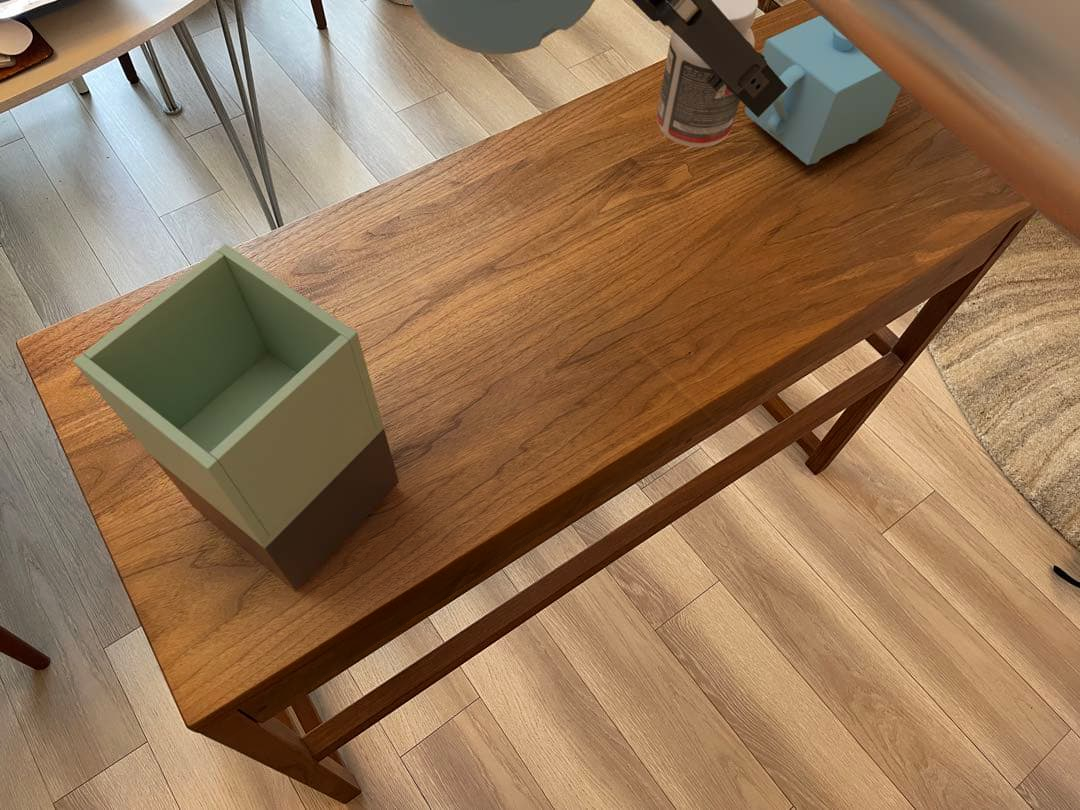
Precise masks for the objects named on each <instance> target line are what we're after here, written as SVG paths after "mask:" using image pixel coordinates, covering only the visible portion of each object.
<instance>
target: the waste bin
mask: <svg viewBox="0 0 1080 810" xmlns="http://www.w3.org/2000/svg"><path fill="white" fill-rule="evenodd" d="M72 363H73V364H74V365H75V366H76V367H77V368H78V370H79V371H80V372H81V373H82V375H83V376H84V377H85V378H86V379H87V381H88V383H90V384H91V386H92V387H93V388H94V389H95V390H96V392H97V393H98V394H99V395H100V396H101V397H102V399H103V400H104V402H106V404H107V405H108V406H109V407H110V408H111V410H112V411H113V412H114V413H115V414H116V416H117V417H118V418H119V419H120V421H121V422H122V423H123V424H124V425H125V426H126V428H127V429H128V430H129V431H130V433H131V434H132V435H133V436H134V437H135V439H136V440H137V441H138V442H139V443H140V445H141V446H142V447H143V448H144V450H145V451H146V452H147V453H148V454H149V456H150V457H151V458H152V460H154V462H155V463H156V464H157V465H158V466H159V467H160V469H161V470H162V471H163V473H164V474H165V475H166V476H167V477H168V478H169V480H170V481H171V482H172V483H173V485H174V486H175V487H176V488H177V490H179V492H180V493H181V494H182V495H183V497H185V500H187V501H188V502H189V504H190V505H191V506H192V507H193V508H194V509H195V510H196V511H197V512H198V513H200V515H202V516H203V517H205V518H206V519H207V520H208V521H209V522H211V523H212V524H213V525H214V526H216V527H217V528H218V529H219V530H220V531H221V532H222V533H224V534H225V535H226V536H227V537H229V538H230V539H231V540H232V541H234V542H235V543H236V544H237V545H239V546H240V547H241V548H242V549H243V550H244V551H246V552H247V553H248V554H249V555H251V556H252V557H253V558H254V559H256V560H257V561H258V562H259V563H260V564H261V565H262V566H264V567H265V568H266V569H268V570H269V571H270V572H271V573H273V574H274V575H275V576H276V577H277V578H278V579H280V580H281V581H283V583H284V584H286V585H287V586H288V587H289V588H291V589H292V590H293V591H294V592H296V593H297V592H298V591H299V590H300V589H301V588H302V587H303V586H304V584H305V583H306V582H307V581H308V580H309V579H310V578H311V577H312V576H313V575H314V574H315V573H316V572H317V571H318V569H320V568H321V566H322V565H323V564H324V563H325V562H326V561H327V560H328V559H329V558H330V557H331V555H333V553H334V552H335V551H336V550H337V549H338V548H339V547H340V546H341V545H342V544H343V543H344V542H345V541H346V540H347V538H348V537H349V536H350V535H351V534H352V533H353V532H354V531H355V530H356V529H357V528H358V527H359V526H360V525H361V524H362V523H363V522H364V521H365V519H366V518H367V517H369V515H370V514H371V513H372V512H373V511H374V510H375V509H376V508H377V507H378V505H380V503H382V502H383V500H384V499H385V498H386V497H387V496H388V495H389V494H390V493H391V492H392V491H393V490H394V489H395V488H396V487H397V486H398V484H400V481H399V477H398V474H397V470H396V467H395V463H394V459H393V456H392V452H391V448H390V446H389V441H388V437H387V434H386V429H385V427H384V423H383V419H382V417H381V416H382V415H381V413H380V408H379V406H378V405H379V404H378V402H377V398H376V395H375V390H374V388H373V384H372V380H371V376H370V373H369V371H368V369H369V368H368V366H367V362H366V359H365V355H364V351H363V348H362V344H361V341H360V337H359V334H358V332H357V331H356V330H355V329H353V328H351V327H350V326H348V325H347V324H345V323H344V322H343V321H341V320H339V319H338V318H336V316H333V315H332V314H330V313H329V312H328V311H326V310H325V309H323V308H322V307H320V306H318V305H317V304H316V303H314V302H313V301H311V300H310V299H308V298H307V297H305V296H303V295H302V294H301V293H299V292H297V291H296V290H295V289H294V288H293V287H290V286H289V285H287V284H286V283H284V282H283V281H281V280H280V279H279V278H277V277H276V276H274V275H273V274H271V273H270V272H268V271H267V270H265V269H263V268H262V267H260V266H259V265H257V264H256V263H255V262H254V261H251V260H250V259H249V258H247V257H246V256H244V255H242V254H241V253H240V252H238V251H236V250H235V249H233V248H232V247H231V246H229V245H228V244H223V245H222V246H221V247H219V248H218V249H217V250H215V251H213V253H211V254H210V255H209V256H207V257H206V258H205V259H203V260H202V261H201V262H200V263H198V264H197V265H195V266H194V267H193V268H192V269H191V270H189V271H188V272H186V273H185V274H184V275H183V276H181V277H180V278H179V279H177V280H176V281H175V282H173V283H172V284H170V286H168V287H167V288H166V289H164V290H163V291H162V292H160V293H159V294H158V295H156V296H155V297H154V298H152V299H151V300H150V301H149V302H148V303H146V304H145V305H144V306H143V307H141V308H139V309H138V310H137V311H136V312H134V313H133V314H132V315H130V316H129V317H128V318H126V319H125V320H124V321H123V322H121V323H119V325H117V326H116V327H115V328H114V329H112V330H111V331H109V332H108V333H107V334H106V335H104V336H103V337H102V338H100V339H99V340H98V341H96V342H95V343H93V344H92V345H91V346H90V347H89V348H87V349H86V350H84V351H83V352H82V353H80V354H79V355H78V356H77V357H75V358H74V359H73V360H72Z"/></svg>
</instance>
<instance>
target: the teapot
mask: <svg viewBox="0 0 1080 810" xmlns="http://www.w3.org/2000/svg"><path fill="white" fill-rule="evenodd" d="M761 54H762V55H763V56H764V57H765V60H766V61H767V62H766V63H767V64H768V66H769V67H770V68H771V69H772V70H773V71H774V72H775V74H776V75H777V76H778V77H779V78H780V79H781V81H782V82H783V83H784V84H785V85H786V86H787V87H788V88H787V89H786V90H785V91H784V92H783V93H782V94H781V95H780V96H779V97H778V98H777V99H776V100H775V101H774V102H773V103H772V104H771V105H770V106H769V107H768V108H767V109H766V110H765V111H764V112H763V113H762V114H761V115H760V116H759V117H757V116H756V115H755V114H754V113H753V112H752V111H751V110H750V109H749V108H748V107H747V106H746V105H745V109H744V110H745V111H744V114H745V115H746V116H747V117H748V118H750V120H752V121H753V122H755V124H757V125H758V126H760V128H761V129H762V130H764V131H765V132H766V133H768V134H769V135H770V136H772V137H773V138H774V139H775V140H776V141H777V142H779V143H780V144H781V145H783V147H785V148H786V149H787V150H788V151H790V152H791V153H792V154H793V155H794V156H795V157H797V158H798V159H799V160H800V161H801V162H802V163H804V164H805V165H807V166H810V165H815V164H817V163H819V162H820V161H821V159H822V158H825V157H826V156H828V155H831V154H832V153H834V152H836V151H838V150H840V149H842V148H844V147H845V146H848V145H850V144H851V145H852V144H856V143H857V142H858V141H859V139H861V138H863V137H865V136H866V135H869V134H871V133H872V132H874V131H876V130H878V129H880V128H882V127H883V126H884V125H885V124H886V121H887V119H888V117H889V115H890V113H891V110H892V108H893V106H894V104H895V102H896V100H897V97H898V96H899V94H900V92H901V90H902V88H901V87H900V86H899V85H898V84H896V83H895V82H894V81H893V80H892V79H891V78H890V77H889V76H888V75H886V74H885V73H884V72H883V71H882V70H881V69H880V68H879V67H878V66H876V65H875V64H874V63H873V62H872V61H871V60H870V59H869V58H868V57H866V56H865V55H864V54H863V53H862V52H861V51H860V50H859V49H858V48H856V47H855V46H854V45H853V44H852V43H851V42H850V41H849V40H848V39H847V38H845V37H844V36H843V35H842V34H841V33H840V32H839V31H838V30H837V29H835V28H834V27H833V26H832V25H831V24H830V23H829V22H828V21H827V20H825V19H824V18H823V17H822V16H821V15H820V14H819V15H818V16H816V17H813V18H811V19H809V20H807V21H804V22H803V23H800V24H798V25H796V26H793V27H791V28H788V29H787V30H785V31H782V32H780V33H778V34H776V35H773V36H772V37H769V38H768V39H766V40H765V42H764V46H763V49H762V52H761Z"/></svg>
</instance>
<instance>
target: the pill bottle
mask: <svg viewBox="0 0 1080 810" xmlns="http://www.w3.org/2000/svg"><path fill="white" fill-rule="evenodd" d="M712 1H713V2H714V3H715V5H716V6H717V7H718V8H719V9H720V10H721V11H722V13H723V14H724V15H725V16H726V17H727V18H728V19H729V21H730V22H731V23H732V24H733V25H734V26H735V27H736V29H737V30H738V31H739V32H740V33H741V34H742V35H743V37H744V38H745V39H746V40H747V41H748V42H749V43H750V44H751V45H752V46H753V48H754V49H755V45H756V41H755V36H754V32H753V30H752V28H751V27H752V26H753V25H754V23H755V20H756V14H757V11H758V7H759V0H712ZM666 56H667V57H666V60H665V61H666V62H665V67H664V72H663V77H662V83H661V89H660V94H659V101H658V105H657V110H656V111H657V112H656V122H657V124H658V125H657V126H658V127H659V129H660V131H661V132H662V133H663V135H664V136H666V137H667V138H668V139H669V140H671V141H673V142H674V143H677V144H679V145H681V146H685V147H689V148H707V147H711V146H714V145H717V144H719V143H721V142H722V141H724V140H725V139H726V138H727V137H728V136H729V135H730V133H731V132H732V129H733V126H734V123H735V120H736V117H737V112H738V109H739V105H740V101H741V100H740V99H739V98H738V97H737V96H736V95H735V94H734V93H733V92H732V93H731V92H730V91H729V90H728V89H727V86H726V85H724V86H723V87H722V88H721V89H720V90H719V91H718V92H717V91H715V90H714V88H713V87H712V86H711V85H710V84H709V83H708V82H707V81H708V80H709V79H710V78H711V77H712V76H713V75H714V73H713V72H712V69H711V68H710V67H709V66H708V65H707V64H706V63H705V62H704V61H703V60H702V59H701V58H700V57H699V56H698V55H697V54H696V53H695V52H694V51H693V50H692V49H691V48H690V47H689V46H688V45H687V44H686V43H685V42H684V41H683V40H682V39H681V38H680V37H679V36H678V35H677V34H676V33H675V32H674V31H673V30H672V31H671V35H670V40H669V45H668V50H667V55H666Z"/></svg>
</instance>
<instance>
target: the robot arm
mask: <svg viewBox="0 0 1080 810" xmlns="http://www.w3.org/2000/svg"><path fill="white" fill-rule="evenodd" d="M409 1H410V3H411V5H412V6H413V8H414V10H415V11H416V13H417V15H418V16H419V17H420V19H422V20H423V22H424V23H425V24H426V25H427V27H429V28H430V29H431V30H432V31H433V32H434V33H435V34H436V35H438V36H439V37H440V38H443V39H444V40H446V42H448V43H450V44H452V45H454V46H456V47H458V48H461V49H463V50H466V51H470V52H473V53H479V54H485V55H501V56H502V55H512V54H517V53H523V52H526V51H530V50H533V49H535V48H538V47H540V45H541V43H542V41H543V40H544V39H545V38H547V37H548V36H550V35H552V34H554V33H556V32H557V31H559V30H561V31H566V32H567V31H568V30H569V29H570V28H572V27H573V26H574V25H576V24H577V23H578V22H579V21H580V20H581V19H582V18H583V17H584V16H585V15H586V14H587V12H588V11H589V10H590V9H591V8H592V5H593V4H594V2H595V1H596V0H409ZM631 1H632V2H633V3H634V4H635V5H636V6H637V7H638V8H639V9H640V10H641V12H643V14H645V15H646V16H647V18H649V20H651V21H652V22H660V23H661V24H662V25H663V26H664V27H669V28H670V29H671V30H672V31H674V32H675V33H676V34H677V35H678V36H679V37H680V38H681V39H682V40H683V41H684V42H685V43H686V44H687V45H688V46H689V47H690V48H691V49H692V50H693V51H694V52H695V53H696V54H697V55H698V56H699V57H700V58H701V59H702V60H703V61H704V62H705V63H706V64H707V65H708V66H709V67H710V68H711V69H712V72H713V73H714V75H713V76H712V77H711V78H710V79H709V80H708V81H707V82H708V83H709V84H710V85H711V86H712V87H713V88H714V90H715V91H717V92H718V91H719V90H720V89H721V88H722V87H723V86H724V85H726V86H727V89H728V90H729V91H730V92H731V93H732V92H733V93H734V94H735V95H736V96H737V97H738V98H739V99H740V101H741V103H743V104H744V106H745V107H746V106H747V107H748V108H749V109H750V110H751V111H752V112H753V113H754V114H755V115H756V116H757V117H759V116H760V115H761V114H762V113H763V112H764V111H765V110H766V109H767V108H768V107H769V106H770V105H771V104H772V103H773V102H774V101H775V100H776V99H777V98H778V97H779V96H780V95H781V94H782V93H783V92H784V91H785V90H786V89H787V88H788V87H787V86H786V85H785V84H784V83H783V82H782V81H781V79H780V78H779V77H778V76H777V75H776V74H775V72H774V71H773V70H772V69H771V68H770V67H769V66H768V64H767V63H766V62H767V61H766V60H765V57H764V56H763V55H762V52H760V51H759V52H758V51H757V50H756V48H755V47H754V48H753V46H752V45H751V44H750V43H749V42H748V41H747V40H746V39H745V38H744V37H743V35H742V34H741V33H740V32H739V31H738V30H737V29H736V27H735V26H734V25H733V24H732V23H731V22H730V21H729V19H728V18H727V17H726V16H725V15H724V14H723V13H722V11H721V10H720V9H719V8H718V7H717V6H716V5H715V3H714V2H713V1H712V0H631ZM803 1H804V2H805V3H806V4H807V5H809V6H810V7H811V8H812V9H813V10H814V11H815V12H816V13H817V14H819V16H820V15H821V16H822V17H823V18H824V19H825V20H827V21H828V22H829V23H830V24H831V25H832V26H833V27H834V28H835V29H837V30H838V31H839V32H840V33H841V34H842V35H843V36H844V37H845V38H847V39H848V40H849V41H850V42H851V43H852V44H853V45H854V46H855V47H856V48H858V49H859V50H860V51H861V52H862V53H863V54H864V55H865V56H866V57H868V58H869V59H870V60H871V61H872V62H873V63H874V64H875V65H876V66H878V67H879V68H880V69H881V70H882V71H883V72H884V73H885V74H886V75H888V76H889V77H890V78H891V79H892V80H893V81H894V82H895V83H896V84H898V85H899V86H900V87H901V90H903V91H904V92H905V93H906V94H907V95H909V96H910V98H912V99H913V100H914V101H915V103H917V104H919V105H920V107H922V108H923V109H924V110H925V111H926V112H927V113H928V114H930V115H931V116H932V117H933V118H934V119H935V120H936V121H937V122H938V123H939V124H941V125H942V126H943V127H944V128H945V129H946V130H947V131H948V132H949V133H950V134H952V135H953V136H954V137H955V138H956V139H957V140H958V141H959V142H960V143H961V144H962V145H964V146H965V147H966V148H968V150H969V151H970V152H972V154H974V155H975V156H976V157H977V158H978V159H979V160H981V162H983V164H985V165H986V166H987V167H988V168H990V169H991V171H993V172H994V173H995V174H996V175H997V176H998V177H999V178H1000V179H1001V180H1003V182H1004V183H1006V184H1007V185H1008V186H1009V187H1011V188H1012V189H1013V190H1014V191H1015V192H1016V193H1017V194H1018V195H1019V196H1020V197H1021V198H1022V199H1024V201H1026V202H1027V203H1028V204H1029V205H1030V206H1031V207H1033V209H1034V210H1035V211H1037V212H1038V213H1039V214H1041V216H1043V217H1044V218H1045V219H1046V220H1047V221H1048V222H1049V223H1050V224H1051V225H1052V226H1054V228H1056V229H1057V230H1058V231H1059V232H1060V233H1061V234H1062V235H1063V236H1064V237H1066V238H1067V239H1068V240H1069V241H1070V242H1071V243H1073V245H1075V246H1076V247H1077V248H1078V249H1079V250H1080V0H803Z"/></svg>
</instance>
